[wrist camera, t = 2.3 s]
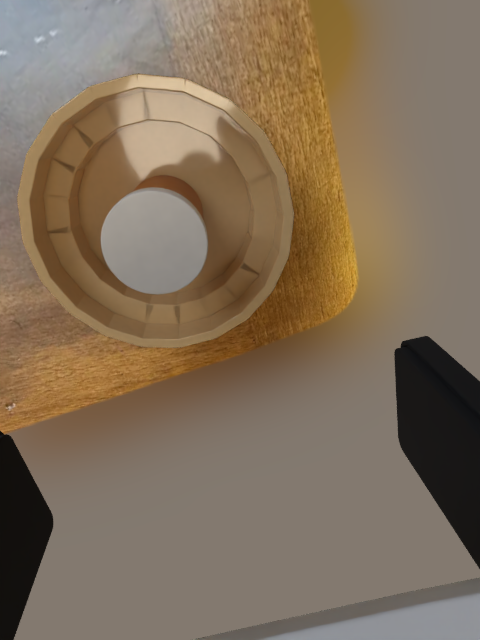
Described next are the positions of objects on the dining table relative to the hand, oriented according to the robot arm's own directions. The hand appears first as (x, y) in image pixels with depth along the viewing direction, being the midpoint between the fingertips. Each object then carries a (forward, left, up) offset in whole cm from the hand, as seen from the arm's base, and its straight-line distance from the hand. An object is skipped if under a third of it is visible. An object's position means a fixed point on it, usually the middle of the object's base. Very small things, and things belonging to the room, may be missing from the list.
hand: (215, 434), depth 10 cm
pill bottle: (+2, -2, -19) cm, 19 cm away
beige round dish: (+2, -2, -20) cm, 20 cm away
